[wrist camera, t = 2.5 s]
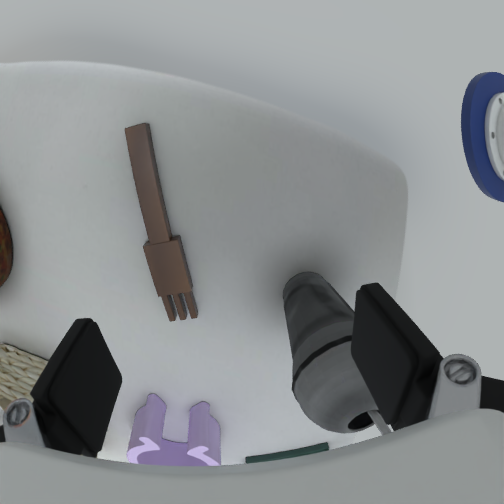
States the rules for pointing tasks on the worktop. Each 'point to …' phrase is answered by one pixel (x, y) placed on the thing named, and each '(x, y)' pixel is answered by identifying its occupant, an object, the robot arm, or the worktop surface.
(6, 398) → the basket
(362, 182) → the worktop surface
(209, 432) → the clip
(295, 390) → the beverage cup
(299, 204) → the worktop surface
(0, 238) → the food container
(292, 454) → the utensil rack
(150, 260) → the salad fork
